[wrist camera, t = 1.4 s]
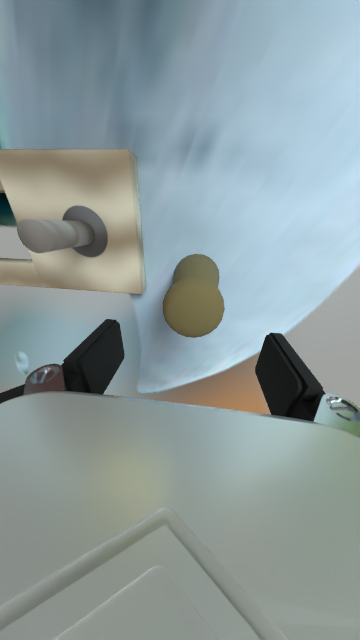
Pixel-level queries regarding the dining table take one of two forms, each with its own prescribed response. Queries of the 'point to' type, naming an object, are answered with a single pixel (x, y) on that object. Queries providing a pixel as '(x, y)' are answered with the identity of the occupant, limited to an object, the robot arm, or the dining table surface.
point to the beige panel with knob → (75, 219)
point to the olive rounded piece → (194, 297)
